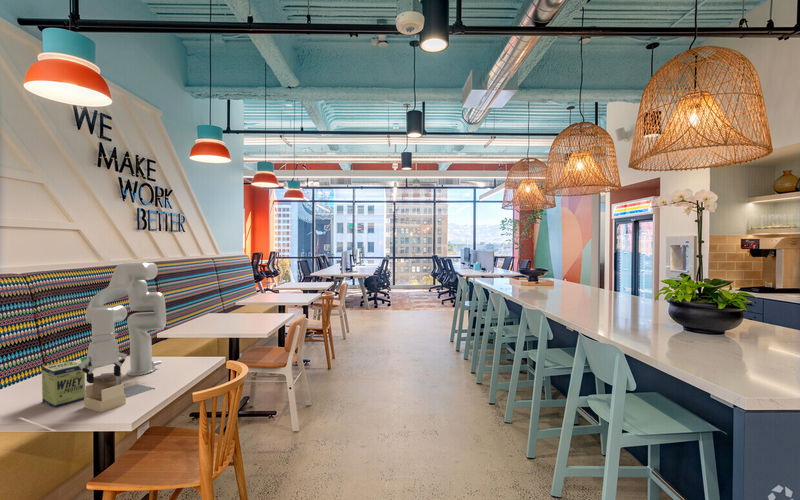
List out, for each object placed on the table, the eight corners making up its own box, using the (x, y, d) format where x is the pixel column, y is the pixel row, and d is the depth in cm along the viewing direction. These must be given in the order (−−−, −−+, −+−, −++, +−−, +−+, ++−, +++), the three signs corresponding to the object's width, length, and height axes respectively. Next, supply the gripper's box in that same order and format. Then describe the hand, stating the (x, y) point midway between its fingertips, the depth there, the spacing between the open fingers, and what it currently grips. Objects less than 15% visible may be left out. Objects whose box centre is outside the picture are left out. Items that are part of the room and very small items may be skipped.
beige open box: (109, 400, 168) (108, 379, 168) (125, 404, 163) (125, 383, 163) (84, 408, 160) (83, 386, 160) (100, 413, 154) (100, 390, 154)
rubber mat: (137, 385, 187) (136, 383, 187) (154, 389, 181) (154, 388, 181) (104, 395, 174) (104, 393, 174) (122, 400, 168) (122, 398, 168)
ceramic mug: (122, 388, 182) (121, 372, 182) (99, 393, 177) (99, 376, 177) (121, 383, 191) (121, 367, 191) (100, 387, 186) (100, 370, 186)
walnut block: (107, 401, 165) (106, 373, 165) (116, 404, 162) (115, 375, 162) (93, 406, 161) (93, 377, 161) (103, 409, 157) (102, 379, 157)
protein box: (55, 409, 160) (54, 371, 160) (41, 401, 168) (40, 365, 168) (86, 400, 169) (85, 364, 169) (71, 393, 177) (71, 359, 177)
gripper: (121, 333, 170) (121, 372, 170) (73, 341, 155) (74, 384, 155) (131, 334, 167) (131, 374, 167) (83, 342, 152) (84, 387, 151)
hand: (104, 379), depth 161 cm, fingers open, 9 cm apart
